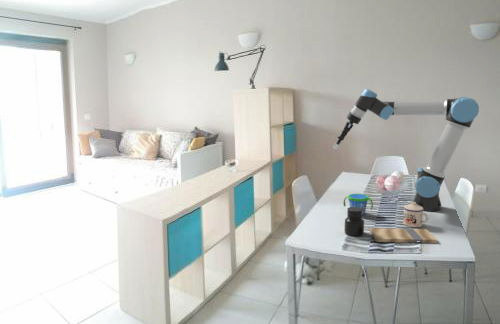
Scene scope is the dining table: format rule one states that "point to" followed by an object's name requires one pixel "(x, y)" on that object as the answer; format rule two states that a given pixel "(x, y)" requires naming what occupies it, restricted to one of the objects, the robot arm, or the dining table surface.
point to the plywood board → (402, 235)
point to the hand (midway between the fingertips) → (335, 146)
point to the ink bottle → (354, 222)
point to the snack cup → (359, 201)
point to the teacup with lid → (413, 215)
